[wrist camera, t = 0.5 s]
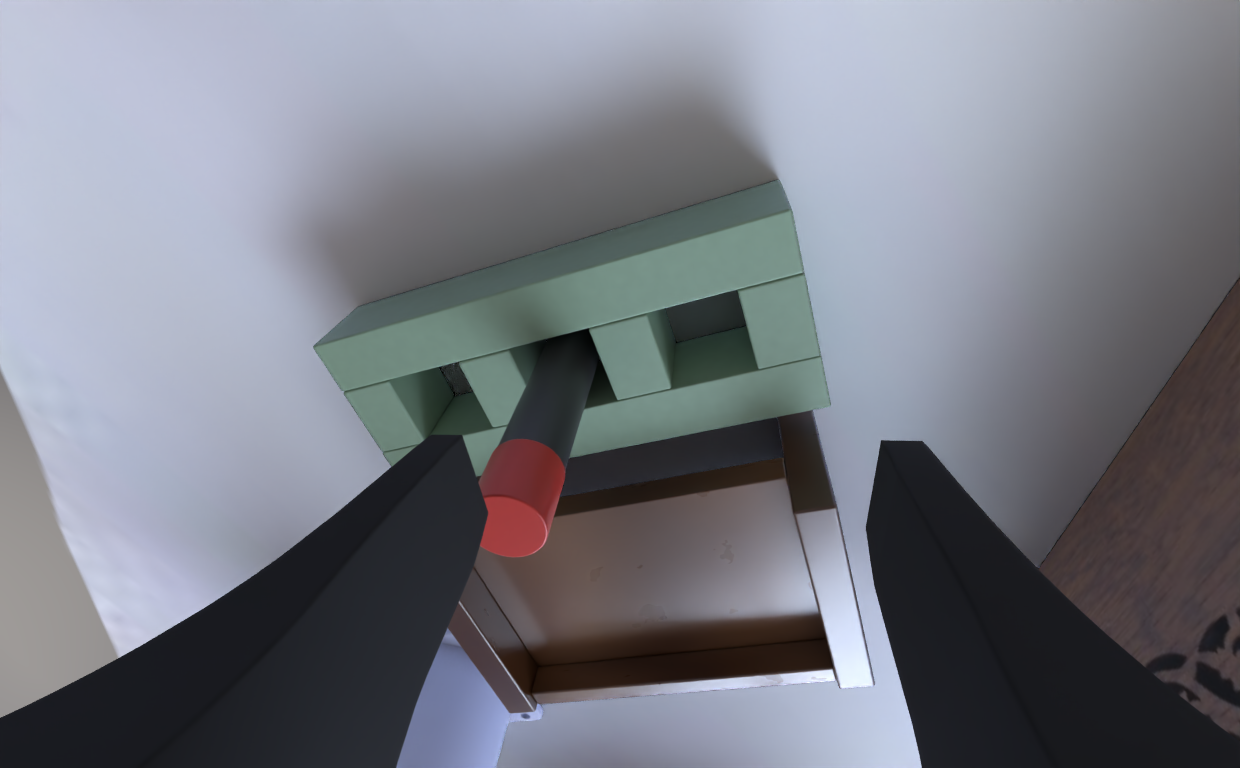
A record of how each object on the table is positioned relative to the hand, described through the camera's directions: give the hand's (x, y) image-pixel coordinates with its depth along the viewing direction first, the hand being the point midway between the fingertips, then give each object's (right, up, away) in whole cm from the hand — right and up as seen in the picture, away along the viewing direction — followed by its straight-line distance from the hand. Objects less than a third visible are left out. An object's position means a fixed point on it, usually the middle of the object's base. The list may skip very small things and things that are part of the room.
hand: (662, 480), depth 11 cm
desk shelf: (+1, -4, +15) cm, 15 cm away
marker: (-2, +4, +11) cm, 11 cm away
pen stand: (-2, +4, +11) cm, 11 cm away
